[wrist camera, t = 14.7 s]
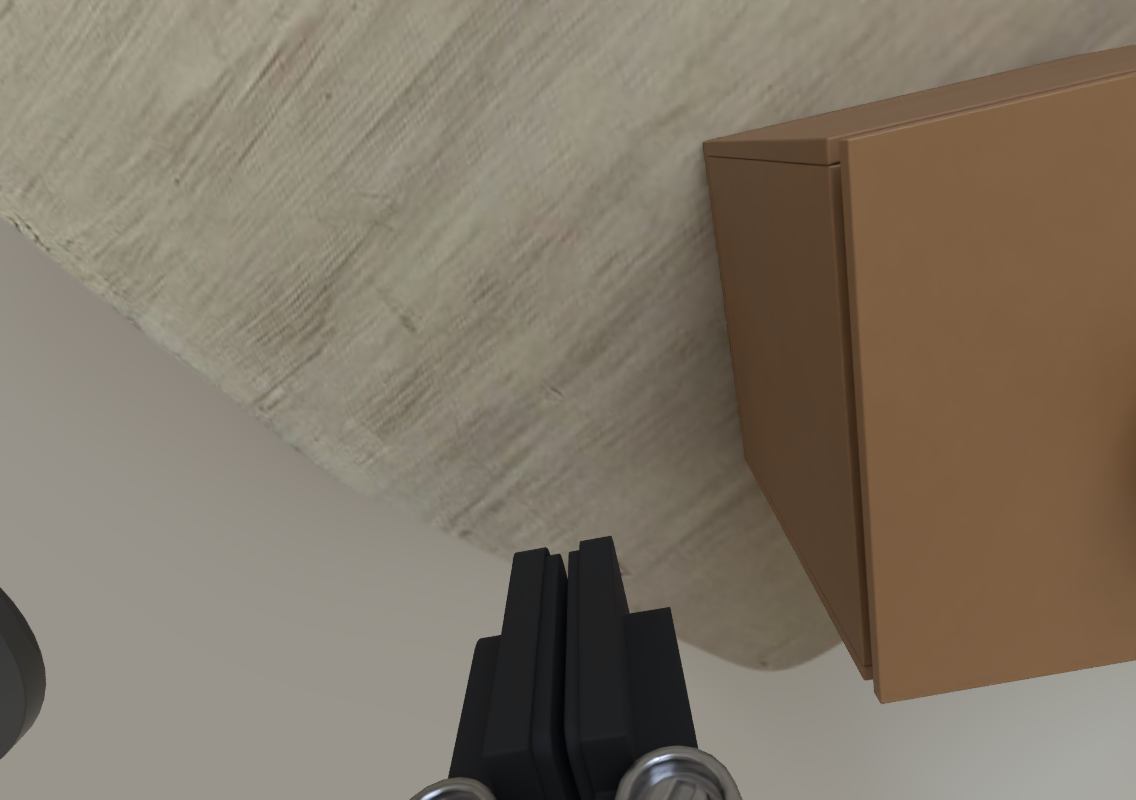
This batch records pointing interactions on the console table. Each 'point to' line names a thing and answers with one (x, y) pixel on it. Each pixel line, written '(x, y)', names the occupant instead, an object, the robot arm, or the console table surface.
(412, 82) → the console table surface
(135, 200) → the console table surface
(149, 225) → the console table surface
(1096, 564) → the flap
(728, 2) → the console table surface
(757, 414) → the carton
